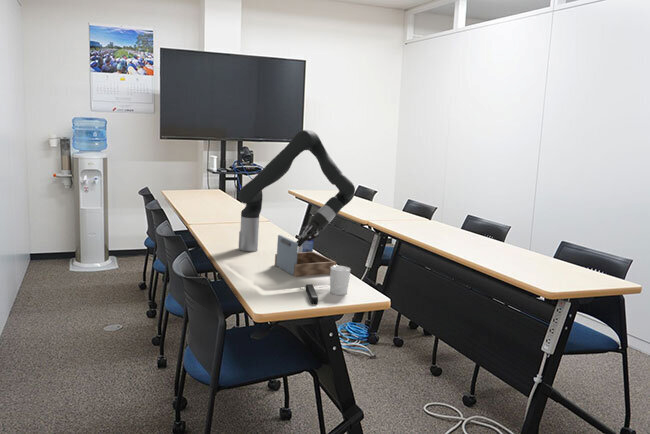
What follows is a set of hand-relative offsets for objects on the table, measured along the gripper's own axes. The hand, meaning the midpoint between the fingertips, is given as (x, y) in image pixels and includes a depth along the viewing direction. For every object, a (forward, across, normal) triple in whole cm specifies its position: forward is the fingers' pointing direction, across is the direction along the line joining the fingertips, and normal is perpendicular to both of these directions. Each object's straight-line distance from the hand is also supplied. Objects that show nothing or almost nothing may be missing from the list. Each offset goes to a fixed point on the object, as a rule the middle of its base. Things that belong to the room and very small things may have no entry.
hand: (297, 245), depth 229 cm
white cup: (+7, +30, +11) cm, 33 cm away
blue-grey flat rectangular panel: (+12, 0, +4) cm, 12 cm away
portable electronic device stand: (+16, +32, +2) cm, 36 cm away
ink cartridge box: (-2, -21, +20) cm, 29 cm away
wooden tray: (+6, 0, +12) cm, 13 cm away
